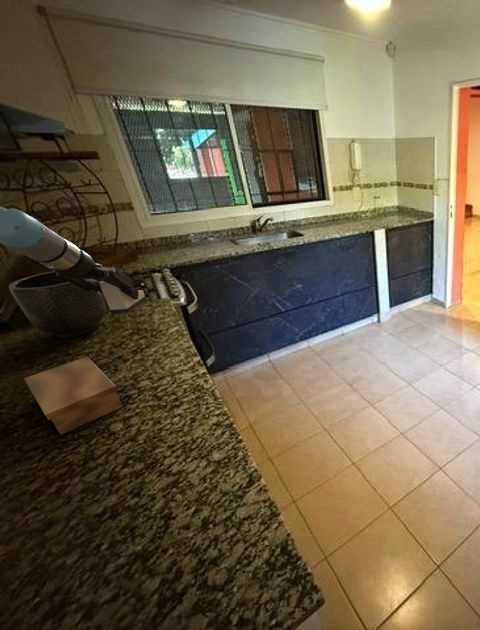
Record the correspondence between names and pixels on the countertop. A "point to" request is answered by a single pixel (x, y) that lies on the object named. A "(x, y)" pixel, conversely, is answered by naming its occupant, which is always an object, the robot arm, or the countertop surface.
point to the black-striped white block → (120, 298)
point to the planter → (58, 305)
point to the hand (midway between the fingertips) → (127, 295)
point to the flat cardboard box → (74, 394)
